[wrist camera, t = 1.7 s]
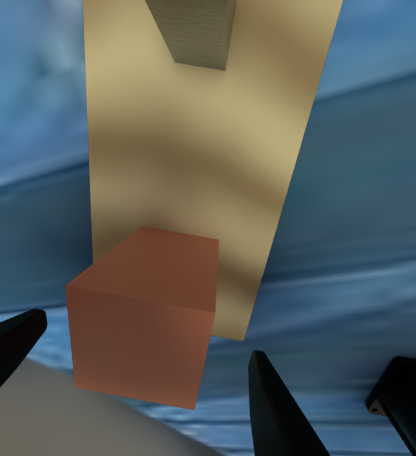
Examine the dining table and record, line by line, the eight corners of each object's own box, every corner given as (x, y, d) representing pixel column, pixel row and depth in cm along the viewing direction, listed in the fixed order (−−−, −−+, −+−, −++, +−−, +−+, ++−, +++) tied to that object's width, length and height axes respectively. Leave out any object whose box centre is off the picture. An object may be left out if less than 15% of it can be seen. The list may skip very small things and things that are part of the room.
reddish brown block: (206, 303, 15) (194, 410, 8) (138, 291, 15) (74, 387, 8) (219, 239, 13) (215, 312, 7) (141, 226, 13) (65, 285, 7)
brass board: (242, 329, 17) (243, 341, 15) (103, 303, 17) (94, 313, 16) (357, -83, 9) (377, -119, 8) (95, -121, 9) (77, -161, 8)
